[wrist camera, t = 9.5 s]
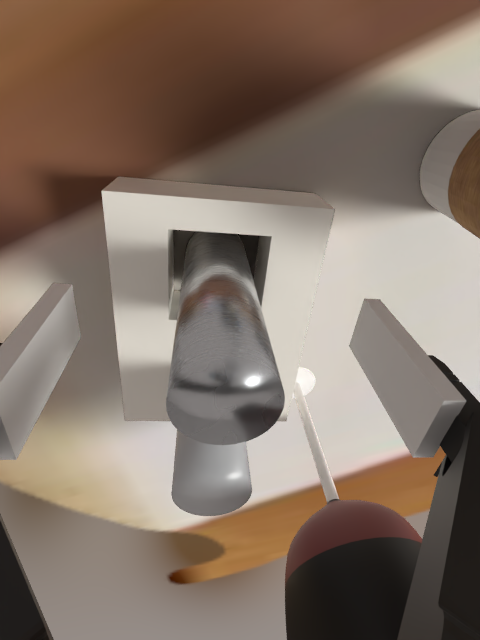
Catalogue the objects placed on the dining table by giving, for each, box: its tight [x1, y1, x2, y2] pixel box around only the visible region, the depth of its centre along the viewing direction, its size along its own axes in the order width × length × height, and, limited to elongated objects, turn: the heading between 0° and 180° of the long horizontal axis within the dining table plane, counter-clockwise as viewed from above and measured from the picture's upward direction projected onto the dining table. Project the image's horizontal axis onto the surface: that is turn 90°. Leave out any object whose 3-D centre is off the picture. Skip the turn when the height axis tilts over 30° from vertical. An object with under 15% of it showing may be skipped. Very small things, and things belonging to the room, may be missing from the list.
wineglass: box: [285, 367, 422, 640], centre depth 22 cm, size 8×9×20 cm
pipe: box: [166, 231, 285, 445], centre depth 18 cm, size 4×4×14 cm
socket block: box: [101, 177, 335, 516], centre depth 20 cm, size 16×12×12 cm
